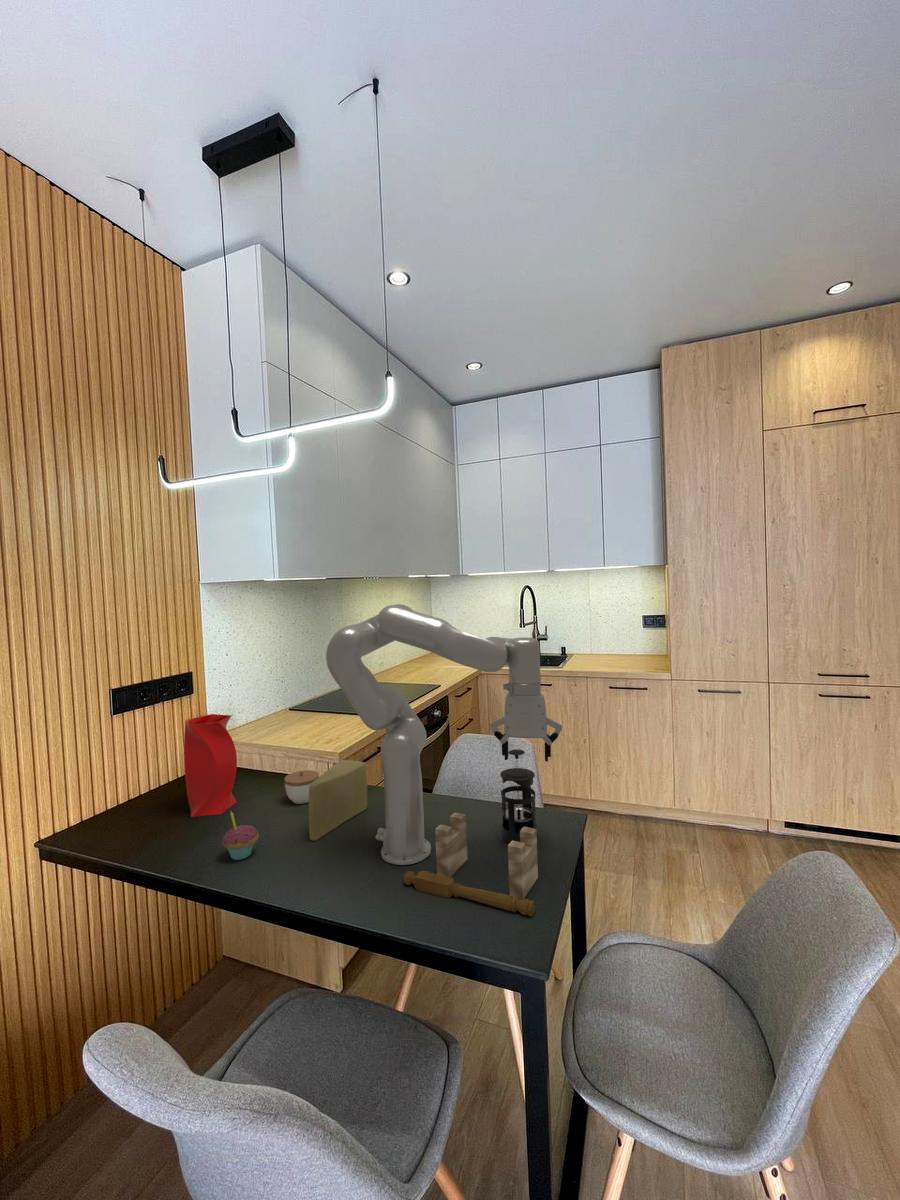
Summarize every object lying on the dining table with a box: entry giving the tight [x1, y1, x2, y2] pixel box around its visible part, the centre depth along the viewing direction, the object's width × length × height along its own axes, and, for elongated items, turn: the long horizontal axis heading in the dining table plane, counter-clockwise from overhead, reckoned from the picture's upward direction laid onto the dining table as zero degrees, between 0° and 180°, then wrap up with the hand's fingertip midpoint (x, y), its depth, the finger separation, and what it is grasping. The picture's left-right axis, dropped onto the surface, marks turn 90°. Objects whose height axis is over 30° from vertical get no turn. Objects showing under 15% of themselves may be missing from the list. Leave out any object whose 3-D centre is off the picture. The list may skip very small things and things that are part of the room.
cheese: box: [308, 759, 368, 842], centre depth 146 cm, size 22×10×15 cm, turn 159°
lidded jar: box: [283, 769, 320, 805], centre depth 163 cm, size 11×11×9 cm
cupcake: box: [221, 810, 260, 861], centre depth 130 cm, size 9×8×12 cm
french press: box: [500, 749, 539, 845], centre depth 133 cm, size 12×9×23 cm
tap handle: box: [402, 870, 536, 918], centre depth 108 cm, size 3×3×30 cm
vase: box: [183, 713, 238, 818], centre depth 159 cm, size 15×14×28 cm
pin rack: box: [434, 812, 539, 900], centre depth 116 cm, size 21×9×11 cm, turn 61°
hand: (526, 759), depth 123 cm, fingers open, 9 cm apart
